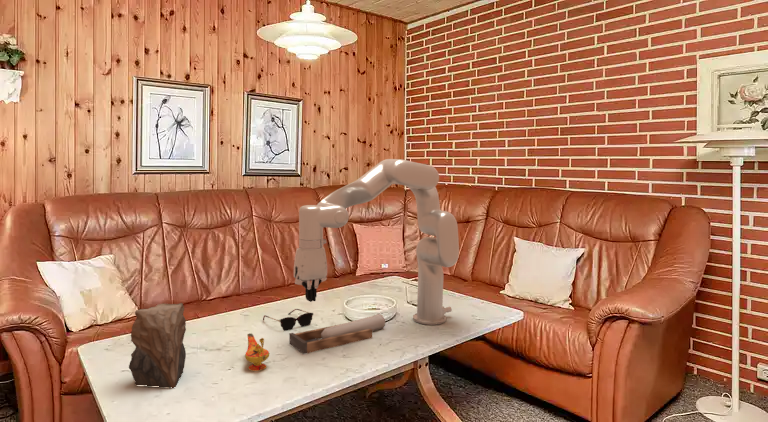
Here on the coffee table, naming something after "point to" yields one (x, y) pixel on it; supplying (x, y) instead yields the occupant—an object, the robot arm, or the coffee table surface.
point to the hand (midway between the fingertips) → (311, 300)
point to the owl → (158, 345)
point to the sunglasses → (294, 320)
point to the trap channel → (309, 342)
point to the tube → (355, 326)
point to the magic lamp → (256, 354)
